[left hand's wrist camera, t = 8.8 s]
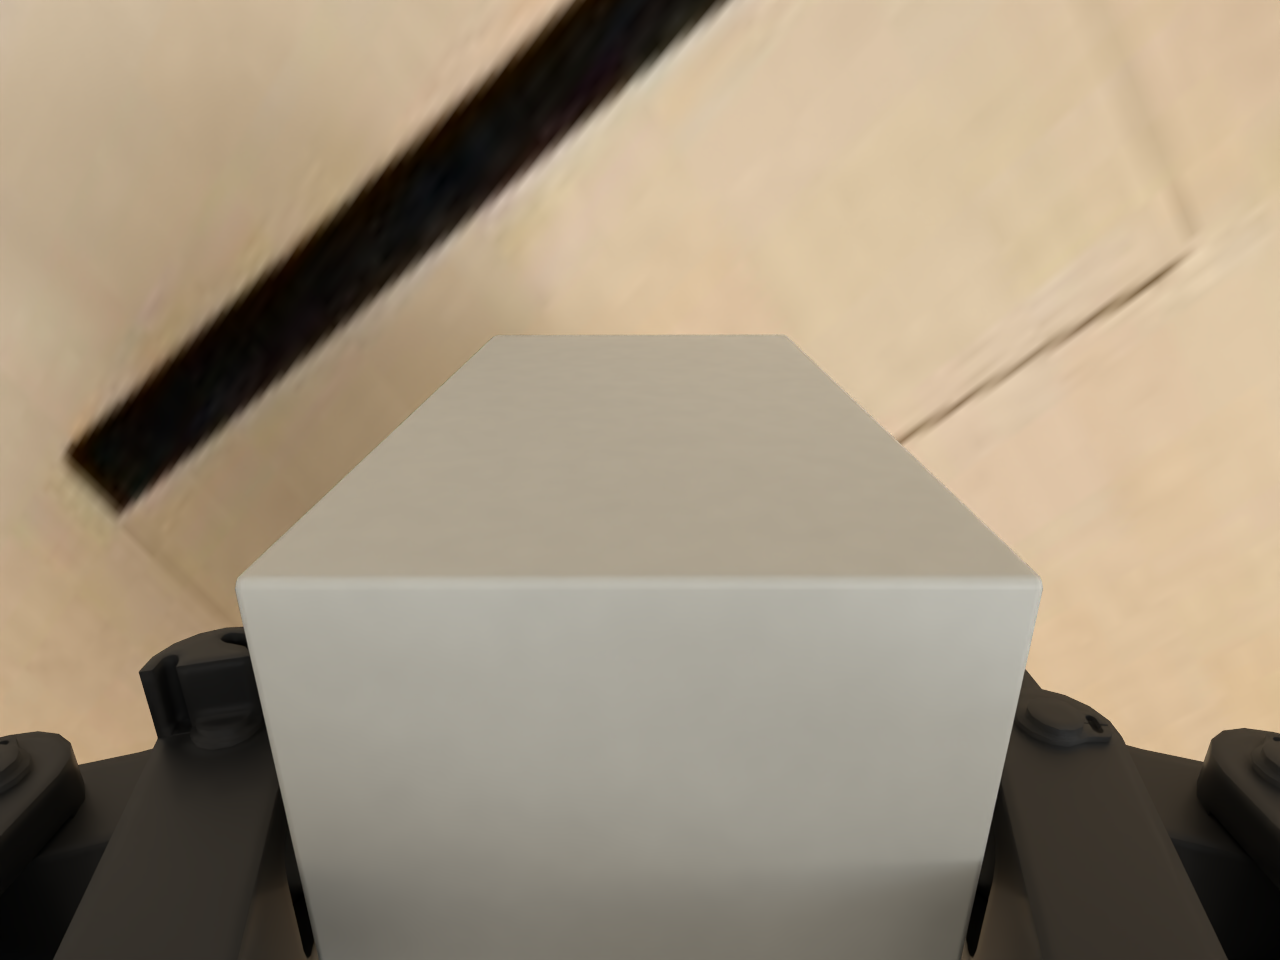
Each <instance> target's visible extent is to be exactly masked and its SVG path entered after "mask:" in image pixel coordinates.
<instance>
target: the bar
mask: <svg viewBox="0 0 1280 960" xmlns="http://www.w3.org/2000/svg"><path fill="white" fill-rule="evenodd" d="M1042 590H1043V587H1042V581H1041V578H1040V576H1039V575H1038V574H1037V573H1036V572H1035V571H1034V570H1033V569H1032V568H1031V567H1029V566H1028V565H1027V564H1026V563H1025V562H1024V561H1023V560H1022V559H1021V558H1020V557H1019V556H1018V555H1017V554H1016V553H1015V552H1014V551H1013V550H1012V549H1011V548H1009V547H1008V546H1007V545H1006V544H1005V543H1004V542H1003V541H1002V540H1001V539H1000V538H999V537H998V536H997V535H996V534H995V533H994V532H993V531H992V530H991V529H989V528H988V527H987V526H986V525H985V524H984V523H983V522H982V521H981V520H980V519H979V518H978V517H977V516H976V515H975V514H974V513H973V512H972V511H971V510H969V509H968V508H967V507H966V506H965V505H964V504H963V503H962V502H961V501H960V500H959V499H958V498H957V497H956V496H955V495H954V494H953V493H952V492H951V491H949V490H948V489H947V488H946V487H945V486H944V485H943V484H942V483H941V482H940V481H939V480H938V479H937V478H936V477H935V476H934V475H933V474H932V473H931V472H929V471H928V470H927V469H926V468H925V467H924V466H923V465H922V464H921V463H920V462H919V461H918V460H917V459H916V458H915V457H914V456H913V455H912V454H911V453H909V452H908V451H907V450H906V449H905V448H904V447H903V446H902V445H901V444H900V443H899V442H898V441H897V440H896V439H895V438H894V437H893V436H892V435H891V434H889V433H888V432H887V431H886V430H885V429H884V428H883V427H882V426H881V425H880V424H879V423H878V422H877V421H876V420H875V419H874V418H873V417H872V416H871V415H869V414H868V413H867V412H866V411H865V410H864V409H863V408H862V407H861V406H860V405H859V404H858V403H857V402H856V401H855V400H854V399H853V398H852V397H851V396H849V395H848V394H847V393H846V392H845V391H844V390H843V389H842V388H841V387H840V386H839V385H838V384H837V383H836V382H835V381H834V380H833V379H832V378H831V377H830V376H828V375H827V374H826V373H825V372H824V371H823V370H822V369H821V368H820V367H819V366H818V365H817V364H816V363H815V362H814V361H813V360H812V359H811V358H810V357H808V356H807V355H806V354H805V353H804V352H803V351H802V350H801V349H800V348H799V347H798V346H797V345H796V344H795V343H794V342H793V341H792V340H791V339H790V338H788V337H787V336H786V335H496V336H494V337H492V338H491V339H490V340H489V341H488V342H487V343H486V344H485V345H484V346H483V347H482V348H481V349H480V350H479V351H477V352H476V353H475V354H474V355H473V356H472V357H471V358H470V359H469V360H468V361H467V362H466V363H465V364H464V365H463V366H462V367H460V368H459V369H458V370H457V371H456V372H455V373H454V374H453V375H452V376H451V377H450V378H449V379H448V380H447V381H446V382H445V383H444V384H442V385H441V386H440V387H439V388H438V389H437V390H436V391H435V392H434V393H433V394H432V395H431V396H430V397H429V398H428V399H427V400H425V401H424V402H423V403H422V404H421V405H420V406H419V407H418V408H417V409H416V410H415V411H414V412H413V413H412V414H411V415H410V416H409V417H407V418H406V419H405V420H404V421H403V422H402V423H401V424H400V425H399V426H398V427H397V428H396V429H395V430H394V431H393V432H392V433H390V434H389V435H388V436H387V437H386V438H385V439H384V440H383V441H382V442H381V443H380V444H379V445H378V446H377V447H376V448H375V449H373V450H372V451H371V452H370V453H369V454H368V455H367V456H366V457H365V458H364V459H363V460H362V461H361V462H360V463H359V464H358V465H357V466H355V467H354V468H353V469H352V470H351V471H350V472H349V473H348V474H347V475H346V476H345V477H344V478H343V479H342V480H341V481H340V482H338V483H337V484H336V485H335V486H334V487H333V488H332V489H331V490H330V491H329V492H328V493H327V494H326V495H325V496H324V497H323V498H322V499H320V500H319V501H318V502H317V503H316V504H315V505H314V506H313V507H312V508H311V509H310V510H309V511H308V512H307V513H306V514H305V515H303V516H302V517H301V518H300V519H299V520H298V521H297V522H296V523H295V524H294V525H293V526H292V527H291V528H290V529H289V530H288V531H287V532H285V533H284V534H283V535H282V536H281V537H280V538H279V539H278V540H277V541H276V542H275V543H274V544H273V545H272V546H271V547H270V548H268V549H267V550H266V551H265V552H264V553H263V554H262V555H261V556H260V557H259V558H258V559H257V560H256V561H255V562H254V563H253V564H251V565H250V566H249V567H248V568H247V569H246V570H245V571H244V572H243V573H242V574H241V575H240V576H239V577H238V579H237V581H236V587H235V591H236V595H237V600H238V604H239V609H240V613H241V618H242V622H243V626H244V631H245V635H246V640H247V644H248V649H249V653H250V657H251V662H252V666H253V671H254V675H255V680H256V684H257V688H258V693H259V697H260V702H261V706H262V711H263V715H264V719H265V724H266V728H267V733H268V737H269V742H270V746H271V750H272V755H273V759H274V764H275V768H276V773H277V777H278V781H279V786H280V790H281V795H282V799H283V803H284V808H285V812H286V817H287V821H288V826H289V830H290V834H291V839H292V843H293V848H294V852H295V857H296V861H297V865H298V870H299V874H300V879H301V883H302V888H303V892H304V896H305V901H306V905H307V910H308V914H309V919H310V923H311V927H312V932H313V936H314V941H315V945H316V950H317V954H318V958H319V960H961V957H962V953H963V948H964V944H965V939H966V934H967V930H968V925H969V921H970V916H971V912H972V907H973V903H974V898H975V894H976V889H977V885H978V880H979V876H980V871H981V866H982V862H983V857H984V853H985V848H986V844H987V839H988V835H989V830H990V826H991V821H992V817H993V812H994V808H995V803H996V798H997V794H998V789H999V785H1000V780H1001V776H1002V771H1003V767H1004V762H1005V758H1006V753H1007V749H1008V744H1009V740H1010V735H1011V731H1012V726H1013V721H1014V717H1015V712H1016V708H1017V703H1018V699H1019V694H1020V690H1021V685H1022V681H1023V676H1024V672H1025V667H1026V663H1027V658H1028V653H1029V649H1030V644H1031V640H1032V635H1033V631H1034V626H1035V622H1036V617H1037V613H1038V608H1039V604H1040V599H1041V595H1042Z"/></svg>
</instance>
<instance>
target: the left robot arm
mask: <svg viewBox="0 0 1280 960" xmlns="http://www.w3.org/2000/svg"><path fill="white" fill-rule="evenodd" d="M139 675H140V678H141V681H142V685H143V688H144V692H145V695H146V698H147V702H148V705H149V709H150V712H151V716H152V719H153V722H154V726H155V729H156V733H157V736H158V739H157V741H156V744H155V746H154V748H153V749H150V750H146V751H143V752H139V753H134V754H129V755H124V756H120V757H115V758H110V759H105V760H100V761H96V762H91V763H86V764H81V765H78V763H77V761H76V758H75V755H74V752H73V749H72V746H71V743H70V742H69V741H67V740H66V739H65V738H63V737H62V736H61V735H60V734H55V733H47V732H39V731H37V732H30V733H22V734H15V735H8V736H4V737H0V960H319V958H318V954H317V950H316V945H315V941H314V936H313V932H312V927H311V923H310V919H309V914H308V910H307V905H306V901H305V896H304V892H303V888H302V883H301V879H300V874H299V870H298V865H297V861H296V857H295V852H294V848H293V843H292V839H291V834H290V830H289V826H288V821H287V817H286V812H285V808H284V803H283V799H282V795H281V790H280V786H279V781H278V777H277V773H276V768H275V764H274V759H273V755H272V750H271V746H270V742H269V737H268V733H267V728H266V724H265V719H264V715H263V711H262V706H261V702H260V697H259V693H258V688H257V684H256V680H255V675H254V671H253V666H252V662H251V657H250V653H249V649H248V644H247V640H246V635H245V631H244V627H231V628H223V629H218V630H214V631H209V632H205V633H200V634H197V635H195V636H192V637H190V638H187V639H185V640H182V641H180V642H177V643H175V644H173V645H171V646H170V647H168V648H166V649H165V650H163V651H161V652H160V653H158V654H157V655H155V656H153V657H152V658H151V659H150V660H149V661H148V663H147V664H146V665H145V666H144V667H143V668H142V669H141V670H140V671H139ZM961 960H1280V734H1279V733H1275V732H1269V731H1262V730H1254V729H1247V728H1241V729H1233V730H1225V731H1222V732H1221V733H1219V734H1218V735H1217V736H1215V737H1214V738H1213V739H1212V740H1211V742H1210V745H1209V748H1208V751H1207V754H1206V757H1205V760H1204V762H1201V761H1196V760H1191V759H1186V758H1182V757H1177V756H1172V755H1167V754H1162V753H1158V752H1153V751H1148V750H1143V749H1139V748H1135V747H1132V746H1128V745H1126V744H1125V742H1124V740H1123V738H1122V736H1121V735H1120V734H1119V733H1118V731H1117V730H1116V729H1115V727H1114V726H1113V725H1112V723H1111V722H1110V721H1109V720H1108V719H1106V718H1105V717H1103V716H1102V715H1101V714H1099V713H1098V712H1097V711H1095V710H1094V709H1092V708H1091V707H1090V706H1088V705H1085V704H1083V703H1081V702H1079V701H1077V700H1074V699H1072V698H1070V697H1068V696H1066V695H1062V694H1059V693H1055V692H1051V691H1047V690H1043V689H1041V688H1040V686H1039V685H1038V684H1037V683H1036V682H1035V680H1034V679H1033V678H1032V677H1031V675H1030V674H1029V673H1028V672H1027V671H1026V669H1025V672H1024V676H1023V681H1022V685H1021V690H1020V694H1019V699H1018V703H1017V708H1016V712H1015V717H1014V721H1013V726H1012V731H1011V735H1010V740H1009V744H1008V749H1007V753H1006V758H1005V762H1004V767H1003V771H1002V776H1001V780H1000V785H999V789H998V794H997V798H996V803H995V808H994V812H993V817H992V821H991V826H990V830H989V835H988V839H987V844H986V848H985V853H984V857H983V862H982V866H981V871H980V876H979V880H978V885H977V889H976V894H975V898H974V903H973V907H972V912H971V916H970V921H969V925H968V930H967V934H966V939H965V944H964V948H963V953H962V957H961Z"/></svg>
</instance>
